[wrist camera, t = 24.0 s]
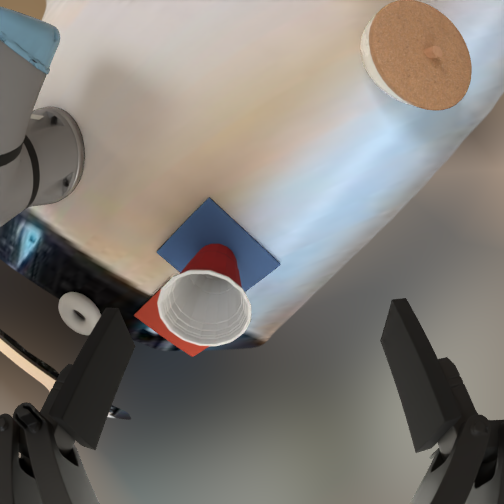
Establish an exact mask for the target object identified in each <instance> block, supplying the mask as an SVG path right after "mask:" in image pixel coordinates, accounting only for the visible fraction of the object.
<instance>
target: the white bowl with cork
mask: <svg viewBox="0 0 504 504" xmlns="http://www.w3.org/2000/svg"><path fill="white" fill-rule="evenodd" d="M360 51H361V57H362V61H363V64H364V67H365V69H366V71H367V73H368V74H369V76H370V78H371V79H372V80H373V82H374V83H375V84H376V85H377V86H378V87H379V88H380V89H381V90H382V91H384V92H385V93H386V94H387V95H389V96H391V97H392V98H394V99H396V100H398V101H400V102H403V103H405V104H408V105H412V106H416V107H419V108H423V109H427V110H444V109H448V108H450V107H452V106H454V105H456V104H457V103H458V102H459V101H460V100H461V99H462V98H463V97H464V95H465V94H466V92H467V90H468V87H469V84H470V81H471V60H470V55H469V51H468V48H467V46H466V43H465V41H464V39H463V37H462V36H461V34H460V32H459V31H458V30H457V28H456V27H455V26H454V24H453V23H452V22H451V21H450V20H449V19H448V18H447V17H446V16H445V15H443V14H442V13H441V12H439V11H438V10H437V9H435V8H433V7H431V6H429V5H427V4H425V3H422V2H418V1H414V0H400V1H395V2H393V3H390V4H388V5H387V6H385V7H384V8H382V9H381V10H380V11H379V12H378V13H377V14H376V15H375V16H374V17H373V18H372V19H371V20H370V21H369V23H368V24H367V26H366V27H365V29H364V32H363V35H362V37H361V43H360Z"/></svg>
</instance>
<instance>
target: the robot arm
mask: <svg viewBox="0 0 504 504" xmlns="http://www.w3.org/2000/svg"><path fill="white" fill-rule="evenodd" d="M59 42H60V34H59V31H58V29H57V28H56V27H54V26H53V25H51V24H48V23H46V22H44V21H41V20H38V19H36V18H33V17H31V16H27V15H25V14H22V13H19V12H16V11H13V10H10V9H7V8H4V7H0V227H1V226H2V225H4V224H5V223H6V222H8V221H9V220H10V219H12V218H13V217H15V216H16V215H17V214H19V213H20V212H22V211H23V210H25V209H26V208H28V207H30V206H38V205H45V204H52V203H55V202H58V201H60V200H62V199H63V198H65V197H66V196H68V195H69V194H70V193H71V192H72V191H73V190H74V189H75V187H76V186H77V184H78V182H79V180H80V178H81V175H82V172H83V167H84V159H85V153H84V143H83V139H82V135H81V133H80V130H79V128H78V126H77V124H76V122H75V121H74V120H73V118H72V117H71V116H70V115H69V114H68V113H67V112H65V111H64V110H62V109H60V108H56V107H45V108H40V109H36V110H34V111H33V109H34V106H35V103H36V100H37V97H38V95H39V92H40V90H41V87H42V84H43V82H44V80H45V77H46V75H47V74H48V73H49V71H50V69H49V67H50V64H51V61H52V59H53V56H54V54H55V52H56V49H57V47H58V45H59ZM380 341H381V344H382V346H383V349H384V352H385V355H386V357H387V360H388V363H389V366H390V369H391V371H392V375H393V378H394V381H395V384H396V387H397V390H398V393H399V396H400V399H401V402H402V406H403V409H404V412H405V416H406V419H407V423H408V426H409V430H410V433H411V437H412V440H413V444H414V448H415V452H416V453H417V452H420V451H424V450H427V449H430V448H432V447H433V446H434V445H435V444H436V443H437V442H438V445H439V448H438V449H437V450H436V451H435V452H434V453H433V454H432V455H431V457H430V459H432V458H433V457H434V459H433V461H432V463H431V465H430V467H429V469H428V471H427V473H426V475H425V477H424V479H423V481H422V482H421V484H420V486H419V488H418V490H417V491H416V493H415V495H414V497H413V498H412V500H411V502H410V504H504V420H492V421H491V420H488V419H487V418H486V417H484V416H483V415H478V413H477V412H476V410H475V408H474V406H473V403H472V401H471V399H470V396H469V394H468V392H467V389H466V387H465V385H464V384H463V381H462V379H461V377H460V376H459V372H458V370H457V368H456V366H455V365H454V364H453V363H452V362H451V361H450V360H449V359H448V358H447V357H446V358H442V359H437V357H436V354H435V352H434V351H433V348H432V346H431V344H430V342H429V340H428V338H427V336H426V335H425V332H424V331H423V329H422V327H421V325H420V323H419V321H418V319H417V317H416V315H415V314H414V312H413V311H412V308H411V306H410V305H409V303H408V301H407V299H406V298H403V299H394V300H392V301H391V305H390V309H389V313H388V316H387V320H386V323H385V327H384V330H383V334H382V337H381V340H380ZM134 348H135V345H134V342H133V340H132V338H131V336H130V334H129V332H128V329H127V327H126V325H125V323H124V320H123V318H122V316H121V313H120V311H119V309H118V308H106V309H105V310H104V312H103V314H102V315H101V317H100V318H99V320H98V322H97V323H96V325H95V327H94V328H93V330H92V332H91V334H90V335H89V337H88V339H87V341H86V342H85V344H84V346H83V348H82V349H81V351H80V353H79V355H78V357H77V358H76V360H75V362H74V364H73V365H71V364H68V365H67V366H66V367H65V368H64V369H63V370H62V371H61V372H60V374H59V376H58V378H57V381H56V382H55V384H54V386H53V388H52V389H51V391H50V394H49V395H48V397H47V399H46V401H45V403H44V405H43V407H42V409H41V411H40V412H38V410H37V409H36V408H35V407H34V406H33V405H31V404H30V403H22V404H21V405H19V406H18V407H17V408H16V409H15V412H14V414H13V418H12V417H11V416H10V415H9V414H2V415H0V504H100V503H99V502H98V499H97V497H96V495H95V493H94V491H93V489H92V486H91V484H90V482H89V479H88V477H87V474H86V472H85V470H84V467H83V464H82V462H81V459H80V456H79V454H78V451H77V448H76V447H75V445H74V442H75V440H76V441H77V442H78V443H79V444H81V445H82V446H84V447H87V448H91V449H94V450H96V447H97V444H98V441H99V438H100V435H101V432H102V430H103V427H104V424H105V421H106V418H107V416H108V413H109V410H110V408H111V405H112V402H113V400H114V397H115V394H116V392H117V389H118V387H119V384H120V382H121V379H122V377H123V374H124V372H125V369H126V367H127V365H128V362H129V360H130V357H131V355H132V353H133V350H134ZM19 452H20V453H21V458H19V457H18V456H19Z"/></svg>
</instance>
